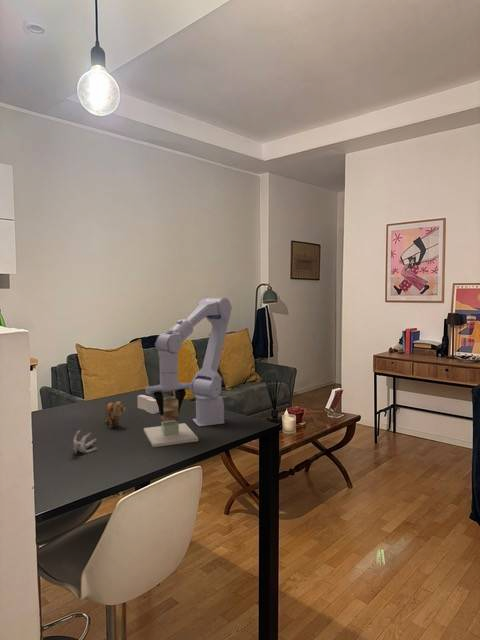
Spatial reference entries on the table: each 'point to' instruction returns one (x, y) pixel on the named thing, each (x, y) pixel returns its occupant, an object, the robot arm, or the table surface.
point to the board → (170, 439)
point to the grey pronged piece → (82, 444)
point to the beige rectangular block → (148, 404)
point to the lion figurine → (114, 412)
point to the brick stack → (170, 409)
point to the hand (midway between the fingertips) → (169, 413)
